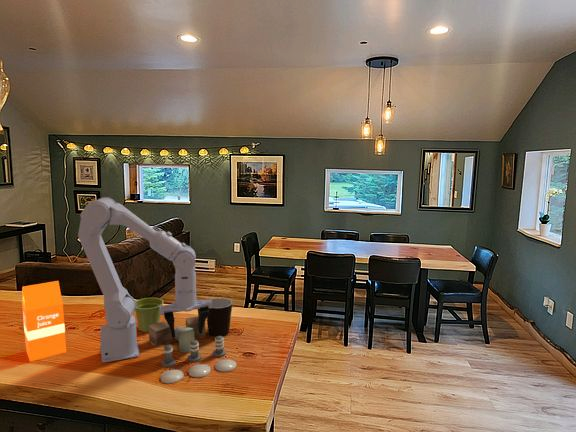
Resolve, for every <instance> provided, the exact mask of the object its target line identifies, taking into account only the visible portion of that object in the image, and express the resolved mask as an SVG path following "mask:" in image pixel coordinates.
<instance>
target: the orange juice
mask: <svg viewBox="0 0 576 432" xmlns="http://www.w3.org/2000/svg"><path fill="white" fill-rule="evenodd" d="M21 289H22V290H21V298H22V299H21V306H22V318H23V330H24V339H25V340H24V341H25V349H26V350H25V352H26V354H27V357H28V360H29V363H31V362H34V361H37V360H41V359H44V358H45V359H46V358H49V357H52V356H56V355H60V354H63V353H67V343H66V342H67V341H66V327H65V326H66V325H65V315H64V303H63V298H62V293H61V288H60V282H59V280H54V281H49V282H48V281H47V282H43V283H38V284H36V283H35V284H30V285H26V286H25V285H23V286H22V288H21Z"/></svg>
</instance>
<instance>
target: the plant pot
mask: <svg viewBox="0 0 576 432" xmlns="http://www.w3.org/2000/svg"><path fill="white" fill-rule="evenodd" d="M135 301H136V309H135V311H134V312H135V316H136V323H137V326H138V330H139V331H140V332H143V333H149V325H153V324H156V323H159V322H160V319H161V315H160V311H159V307H160V306H164V300H163V299H162V298H159V297H144V298H140V299H138V300H135Z"/></svg>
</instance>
